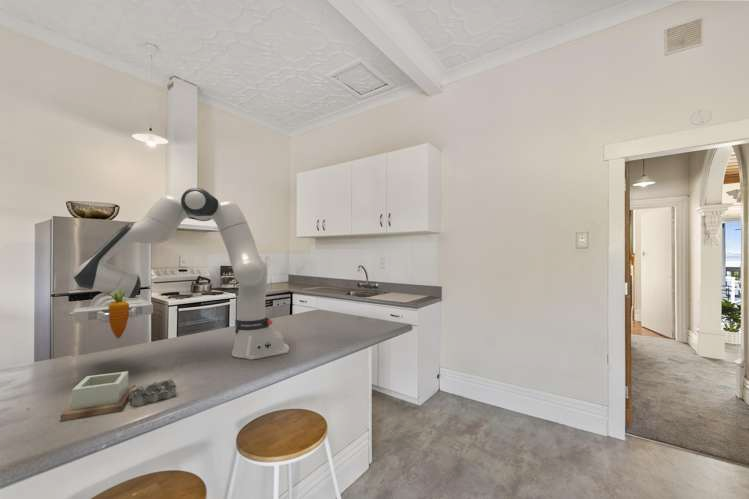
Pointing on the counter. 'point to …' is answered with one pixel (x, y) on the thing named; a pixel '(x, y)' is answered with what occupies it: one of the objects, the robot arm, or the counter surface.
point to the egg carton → (152, 392)
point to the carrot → (118, 314)
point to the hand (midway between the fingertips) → (119, 315)
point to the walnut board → (97, 408)
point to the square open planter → (100, 390)
